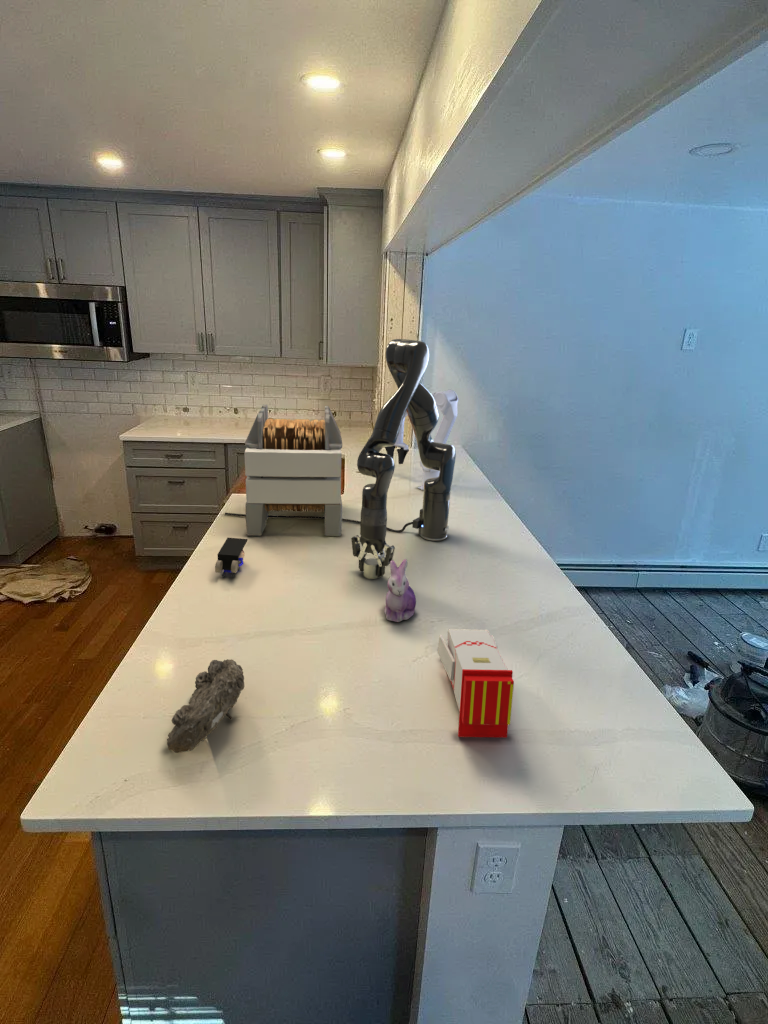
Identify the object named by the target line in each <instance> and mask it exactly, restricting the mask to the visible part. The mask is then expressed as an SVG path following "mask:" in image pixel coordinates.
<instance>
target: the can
mask: <svg viewBox="0 0 768 1024" xmlns="http://www.w3.org/2000/svg"><path fill="white" fill-rule="evenodd" d="M378 566H379V565H378V562H377V560H376V559H375V557H374V558H373V557H372V558H371V557H369V558H366V560H364V571H363V577H364V578H365V579H368V580H375V579H379V577H377V575H378Z"/></svg>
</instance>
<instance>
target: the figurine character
mask: <svg viewBox="0 0 768 1024" xmlns="http://www.w3.org/2000/svg"><path fill="white" fill-rule="evenodd" d="M247 542H248V538H240V537H226V539H225V541H224V543H223V544H222V546H221V547H220V549H219V551H218V552H217V560H216V562H215V564H214V572H215V573H221V577H222V578H224V577H225V576H226V574H227V573H230V574H231V573H232V574H231V578H234V577H235V575H236V573H237V572H239V571H240V567H242V566H243V565H244V564H245V562H244V558H245V551H244V547H245V546H246V544H247Z"/></svg>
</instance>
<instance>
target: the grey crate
mask: <svg viewBox="0 0 768 1024" xmlns="http://www.w3.org/2000/svg"><path fill="white" fill-rule="evenodd" d="M341 433H342V432H341V430H340V428H339V426H338V424H337V421H336V419H335V417H334V415H333V413H332V410H331V408H330V406H329V405H325V406H324V419H320V420H319V419H307V418H306V419H305V418H302V419H301V418H295V419H290V418H269V408H268V404H262V405H261V407H260V409H259V411H258V413H257V415H256V417H255V419H254V422H253V424H252V426H251V428H250V430H249V432H248V435H247V436H246V439H245V442H244V444H245V445H244V446H245V450H244V476H245V477H246V478H245V497H246V501H245V505H244V506H245V507H244V508H245V509H244V511H245V514H246V517H245V524H246V525H245V526H246V536H248V537H251V536H260V537H261V536H262V535H263V533H264V531H265V528H266V526H267V521H268V519H269V518H268V515H269V512H275V513H277V512H279V513H280V512H293V513H294V512H297V513H298V512H299V513H301V512H309V513H310V512H313V513H314V512H315V513H316V512H318V513H319V512H322V513H323V515H324V516H323V517H324V519H323V520H324V521H323V522H324V536H328V537H329V536H331V537H332V536H333V537H334V536H335V537H340V536H343V521H342V519H343V500H342V459H343V458H342V455H343V454H342V448H343V439H342V434H341Z"/></svg>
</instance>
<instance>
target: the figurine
mask: <svg viewBox="0 0 768 1024" xmlns="http://www.w3.org/2000/svg"><path fill="white" fill-rule="evenodd" d="M407 567H408V559H406V558H404V559H403V560H402V561H401V563H400V565H399V566H398V565H397V563H396V562H395V561H394V560H393V559H392V560H391V561H390V564H389V570H390V576H389V578H388V579H387V589H388V591H387V592H386V594H385V595H386V596H385V607H384V615H385V616H386V620H387V621H391V622H395V623H400V622H402V621H406V620H409V619H410V618H411V617H413V616H414V615H415V610H416V606H417V597H416V593H415V591H414V590H413V587H411V586H410V582H409V579H408V577H407V574H406V571H407Z"/></svg>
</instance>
